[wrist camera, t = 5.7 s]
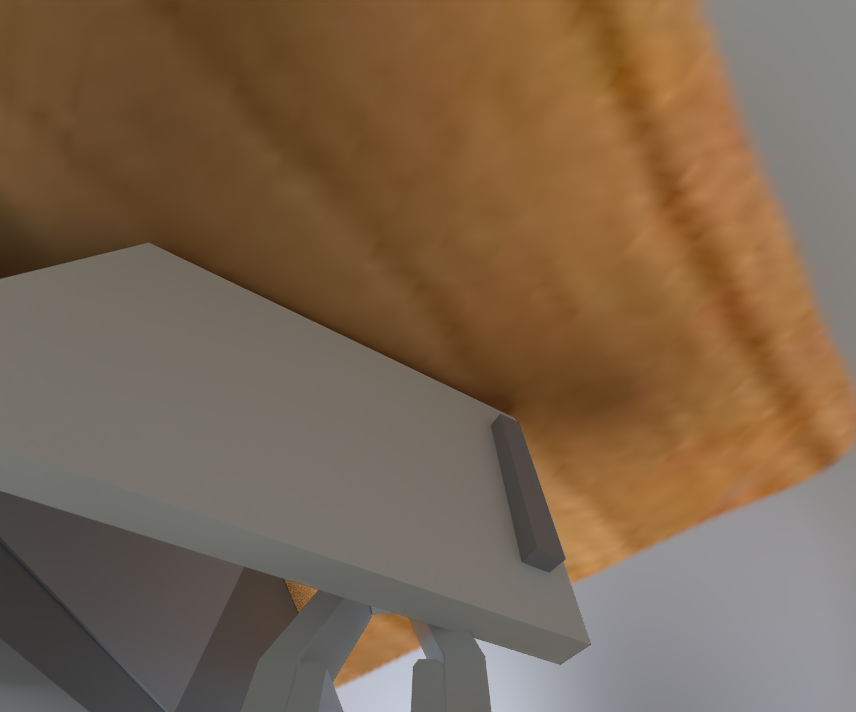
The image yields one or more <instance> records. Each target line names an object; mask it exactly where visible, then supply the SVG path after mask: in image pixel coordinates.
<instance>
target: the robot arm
mask: <svg viewBox="0 0 856 712" xmlns="http://www.w3.org/2000/svg"><path fill="white" fill-rule="evenodd" d="M376 614H395V613H392V612H389V611H386V610H383V609H379V608H376V607H373V606H370V605H366V604H363V603H360V602H357V601H354V600H350V599H347V598H344V597H341V596H337V595H334V594H331V593H328V592H325V591H321V590H318V591H317V592H316V594H315V595H314V596H313V597H312V598H311V599H310V601H309V602H308V603H307V604H306V605H305V606H304V608H303V609H302V610H301V611H300V612H299V613H298V615H297V616H296V617H295V618H294V619H293V621H292V622H291V623H290V624H289V625H288V626H287V628H286V629H285V630H284V631H283V632H282V633H281V635H280V636H279V637H278V638H277V639H276V640H275V642H274V643H273V644H272V645H271V646H270V648H269V649H268V650H267V651H266V652H265V653H264V655H263V656H262V657H261V658H260V659H259V661H258V664H257V667H256V669H255V672H254V675H253V678H252V681H251V683H250V686H249V689H248V692H247V695H246V698H245V700H244V703H243V706H242V709H241V712H343V710H342V707H341V704H340V701H339V699H338V696H337V694H336V691H335V688H334V686H333V681H334V679H335V678H336V676H337V674H338V673H339V671H340V669H341V668H342V666H343V664H344V663H345V661H346V659H347V658H348V656H349V654H350V653H351V651H352V649H353V648H354V646H355V644H356V643H357V641H358V639H359V638H360V636H361V634H362V633H363V631H364V629H365V628H366V626H367V624H368V623H369V621H370V619H371V618H372V616H371V615H376ZM409 620H410V622H411V625H412V627H413V629H414V631H415V634H416V636H417V638H418V640H419V642H420V645H421V647H422V649H423V651H424V653H425V656H426V658H427V659H419V660H418V661H417V662H416V663H415V665H414V666H413V679H412V701H411V712H491V705H490V696H489V687H488V679H487V670H486V661H485V656H484V654H483V652H482V651H481V649H480V648H479V646H478V644H477V643H476V641H475V639H474V638H473V636H472V634H471V633H470V631H469V630H447V629H444V628H441V627H437V626H434V625H431V624H428V623H424V622H421V621H418V620H415V619H412V618H409Z"/></svg>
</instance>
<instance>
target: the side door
mask: <svg viewBox="0 0 856 712" xmlns="http://www.w3.org/2000/svg"><path fill="white" fill-rule="evenodd" d="M0 491H2V492H6V493H9V494H12V495H15V496H18V497H22V498H25V499H28V500H31V501H35V502H38V503H41V504H44V505H47V506H51V507H54V508H57V509H60V510H64V511H67V512H70V513H73V514H76V515H80V516H83V517H86V518H89V519H93V520H96V521H99V522H102V523H105V524H109V525H112V526H115V527H118V528H122V529H125V530H128V531H131V532H134V533H138V534H141V535H144V536H147V537H151V538H154V539H157V540H160V541H163V542H167V543H170V544H173V545H176V546H180V547H183V548H186V549H189V550H192V551H196V552H199V553H202V554H205V555H209V556H212V557H215V558H218V559H221V560H225V561H228V562H231V563H234V564H238V565H241V566H244V567H247V568H250V569H254V570H257V571H260V572H263V573H267V574H270V575H273V576H276V577H279V578H283V579H286V580H289V581H292V582H296V583H299V584H302V585H305V586H308V587H312V588H315V589H318V590H321V591H325V592H328V593H331V594H334V595H337V596H341V597H344V598H347V599H350V600H354V601H357V602H360V603H363V604H366V605H370V606H373V607H376V608H379V609H383V610H386V611H389V612H392V613H395V614H399V615H402V616H405V617H408V618H412V619H415V620H418V621H421V622H424V623H428V624H431V625H434V626H437V627H441V628H444V629H447V630H469V631H470V633H471V634H472V636H473V638H476V639H480V640H482V641H486V642H489V643H492V644H495V645H499V646H502V647H505V648H508V649H511V650H515V651H518V652H521V653H524V654H528V655H531V656H534V657H537V658H540V659H544V660H547V661H550V662H553V663H557V664H560V665H561V664H562V663H564V662H565V661H567V660H568V659H570V658H571V657H573V656H574V655H576V654H577V653H579V652H581V651H582V650H583V649H585V648H587V647H588V646H590V645H591V643H590V640H589V637H588V634H587V631H586V628H585V625H584V622H583V619H582V616H581V613H580V610H579V607H578V604H577V601H576V598H575V595H574V592H573V589H572V586H571V583H570V580H569V577H568V574H567V571H566V568H565V565H564V562H563V561H564V560H565V559H566V558H565V555H564V553H563V550H562V547H561V544H560V541H559V538H558V535H557V532H556V529H555V526H554V523H553V520H552V518H551V515H550V512H549V509H548V506H547V503H546V500H545V497H544V494H543V491H542V488H541V485H540V483H539V480H538V477H537V474H536V471H535V468H534V465H533V462H532V459H531V456H530V453H529V450H528V448H527V445H526V442H525V439H524V436H523V433H522V430H521V427H520V424H519V422H517V421H516V419H515V418H514V417H512V416H510V415H507V414H505V413H503V412H501V411H499V410H497V409H495V408H493V407H491V406H489V405H487V404H485V403H482V402H480V401H478V400H476V399H474V398H472V397H470V396H468V395H466V394H464V393H462V392H459V391H457V390H455V389H453V388H451V387H449V386H447V385H445V384H443V383H441V382H439V381H437V380H434V379H432V378H430V377H428V376H426V375H424V374H422V373H420V372H418V371H416V370H414V369H412V368H409V367H407V366H405V365H403V364H401V363H399V362H397V361H395V360H393V359H391V358H389V357H386V356H384V355H382V354H380V353H378V352H376V351H374V350H372V349H370V348H368V347H366V346H364V345H361V344H359V343H357V342H355V341H353V340H351V339H349V338H347V337H345V336H343V335H341V334H339V333H336V332H334V331H332V330H330V329H328V328H326V327H324V326H322V325H320V324H318V323H316V322H313V321H311V320H309V319H307V318H305V317H303V316H301V315H299V314H297V313H295V312H293V311H291V310H288V309H286V308H284V307H282V306H280V305H278V304H276V303H274V302H272V301H270V300H268V299H266V298H263V297H261V296H259V295H257V294H255V293H253V292H251V291H249V290H247V289H245V288H243V287H240V286H238V285H236V284H234V283H232V282H230V281H228V280H226V279H224V278H222V277H220V276H218V275H215V274H213V273H211V272H209V271H207V270H205V269H203V268H201V267H199V266H197V265H195V264H193V263H190V262H188V261H186V260H184V259H182V258H180V257H178V256H176V255H174V254H172V253H170V252H167V251H165V250H163V249H161V248H159V247H157V246H155V245H153V244H151V243H145V244H141V245H137V246H133V247H129V248H125V249H120V250H116V251H112V252H108V253H104V254H100V255H96V256H92V257H88V258H84V259H80V260H76V261H71V262H67V263H63V264H59V265H55V266H51V267H47V268H43V269H39V270H35V271H31V272H27V273H22V274H18V275H14V276H10V277H6V278H2V279H0Z"/></svg>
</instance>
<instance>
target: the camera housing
mask: <svg viewBox="0 0 856 712" xmlns="http://www.w3.org/2000/svg"><path fill="white" fill-rule="evenodd" d="M297 615H298V612H297V610H296V608H295V605H294V603H293V601H292V598H291V596H290V594H289V592H288V589H287V587H286V585H285V582H284V580H283V578H279V577H276V576H273V575H270V574H267V573H263V572H260V571H257V570H254V569H250V568H247V567H244V566H241V565H238V564H234V563H231V562H228V561H225V560H221V559H218V558H215V557H212V556H209V555H205V554H202V553H199V552H196V551H192V550H189V549H186V548H183V547H180V546H176V545H173V544H170V543H167V542H163V541H160V540H157V539H154V538H151V537H147V536H144V535H141V534H138V533H134V532H131V531H128V530H125V529H122V528H118V527H115V526H112V525H109V524H105V523H102V522H99V521H96V520H93V519H89V518H86V517H83V516H80V515H76V514H73V513H70V512H67V511H64V510H60V509H57V508H54V507H51V506H47V505H44V504H41V503H38V502H35V501H31V500H28V499H25V498H22V497H18V496H15V495H12V494H9V493H6V492H2V491H0V712H241V709H242V706H243V703H244V700H245V698H246V695H247V692H248V689H249V686H250V683H251V681H252V678H253V675H254V672H255V669H256V667H257V664H258V661H259V659H260V658H261V657H262V656H263V655H264V653H265V652H266V651H267V650H268V649H269V648H270V646H271V645H272V644H273V643H274V642H275V640H276V639H277V638H278V637H279V636H280V635H281V633H282V632H283V631H284V630H285V629H286V628H287V626H288V625H289V624H290V623H291V622H292V621H293V619H294V618H295V617H296V616H297Z"/></svg>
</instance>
